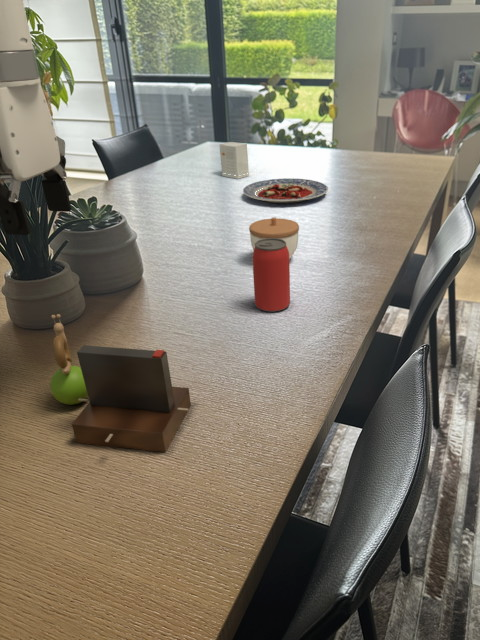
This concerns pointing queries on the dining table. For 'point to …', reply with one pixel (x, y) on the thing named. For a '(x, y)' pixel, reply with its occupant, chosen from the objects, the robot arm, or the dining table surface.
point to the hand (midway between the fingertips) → (40, 221)
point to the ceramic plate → (285, 190)
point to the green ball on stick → (66, 371)
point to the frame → (127, 378)
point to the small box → (234, 159)
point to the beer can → (271, 274)
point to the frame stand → (131, 424)
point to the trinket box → (275, 232)
